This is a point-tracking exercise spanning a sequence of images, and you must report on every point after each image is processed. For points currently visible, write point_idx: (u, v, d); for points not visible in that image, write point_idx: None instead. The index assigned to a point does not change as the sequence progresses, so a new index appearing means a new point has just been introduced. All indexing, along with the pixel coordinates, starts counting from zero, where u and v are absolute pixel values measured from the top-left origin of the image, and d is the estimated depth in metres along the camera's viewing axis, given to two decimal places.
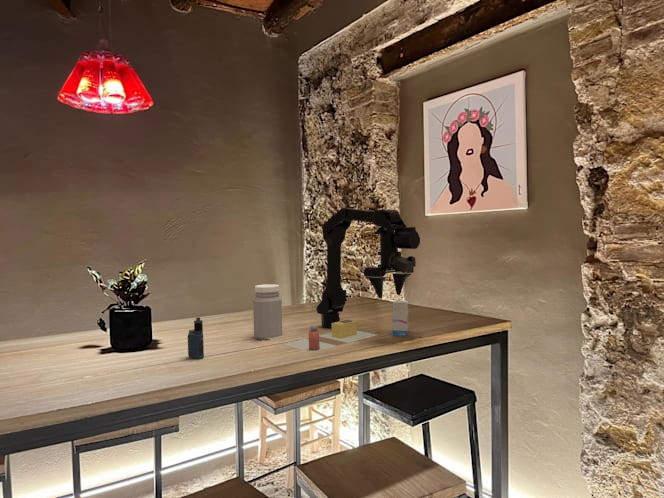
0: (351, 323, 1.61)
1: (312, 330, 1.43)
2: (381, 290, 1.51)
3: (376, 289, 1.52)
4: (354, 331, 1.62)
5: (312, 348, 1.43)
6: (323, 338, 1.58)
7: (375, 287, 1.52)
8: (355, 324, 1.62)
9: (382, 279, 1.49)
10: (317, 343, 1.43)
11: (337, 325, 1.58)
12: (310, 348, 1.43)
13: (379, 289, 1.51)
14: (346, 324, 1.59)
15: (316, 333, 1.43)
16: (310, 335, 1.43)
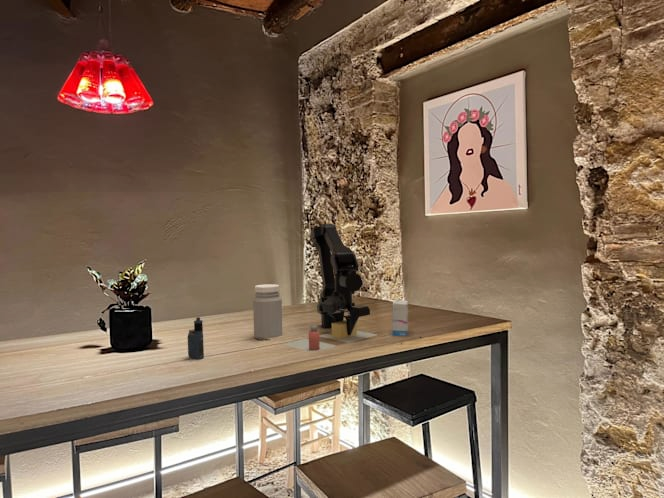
0: None
1: (312, 330, 1.43)
2: None
3: None
4: (354, 331, 1.62)
5: (312, 348, 1.43)
6: (323, 338, 1.58)
7: None
8: (355, 324, 1.62)
9: (330, 315, 1.62)
10: (317, 343, 1.43)
11: (337, 325, 1.58)
12: (310, 348, 1.43)
13: None
14: (346, 324, 1.59)
15: (316, 333, 1.43)
16: (310, 335, 1.43)
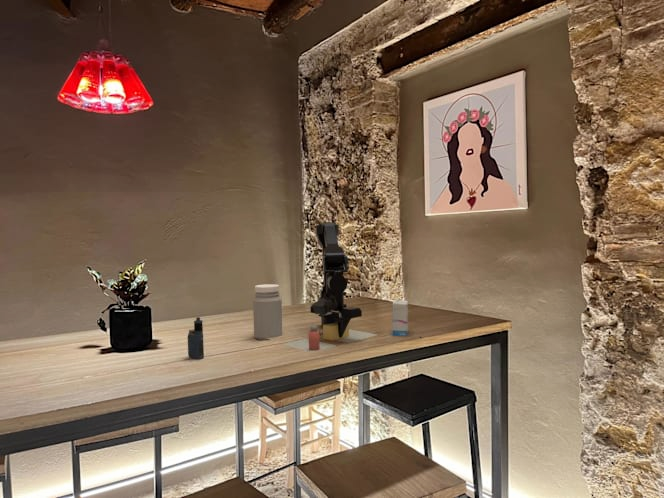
0: None
1: (312, 330, 1.43)
2: None
3: None
4: (346, 333, 1.59)
5: (312, 348, 1.43)
6: None
7: None
8: (347, 326, 1.60)
9: (321, 317, 1.59)
10: (317, 343, 1.43)
11: (328, 327, 1.55)
12: (310, 348, 1.43)
13: None
14: None
15: (316, 333, 1.43)
16: (310, 335, 1.43)
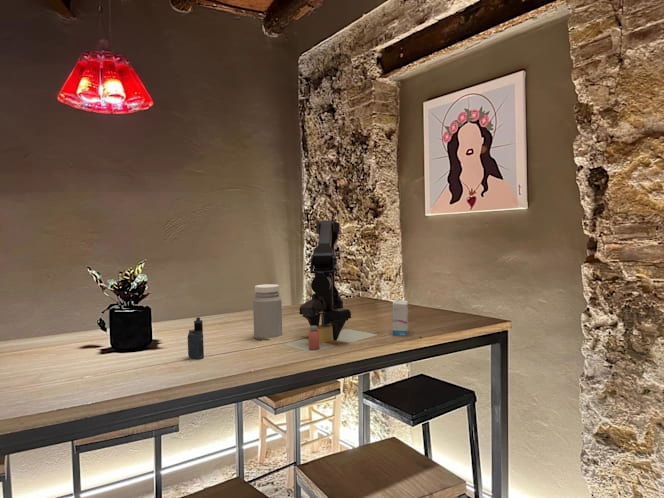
0: None
1: (312, 330, 1.43)
2: None
3: None
4: None
5: (312, 348, 1.43)
6: None
7: None
8: None
9: (305, 317, 1.58)
10: (317, 343, 1.43)
11: (317, 329, 1.52)
12: (310, 348, 1.43)
13: None
14: (327, 328, 1.53)
15: (316, 333, 1.43)
16: (310, 335, 1.43)
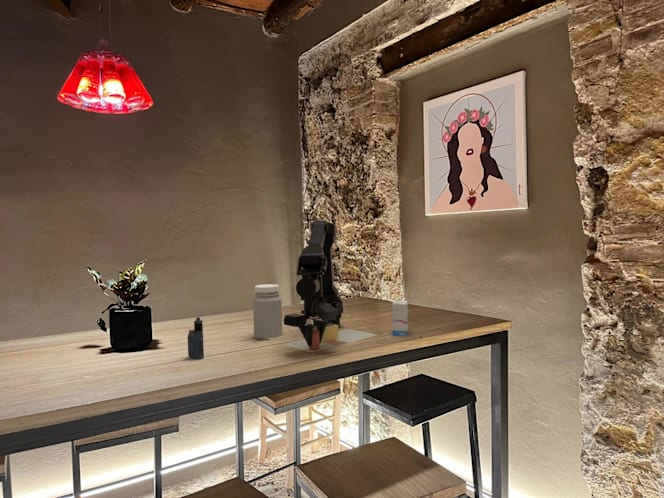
0: (332, 327, 1.55)
1: (312, 330, 1.43)
2: (310, 338, 1.42)
3: (305, 336, 1.43)
4: (335, 336, 1.56)
5: (312, 348, 1.43)
6: None
7: (304, 334, 1.43)
8: (337, 328, 1.56)
9: (310, 327, 1.40)
10: (317, 343, 1.43)
11: None
12: (310, 348, 1.43)
13: (308, 337, 1.42)
14: (327, 328, 1.53)
15: (316, 333, 1.43)
16: None
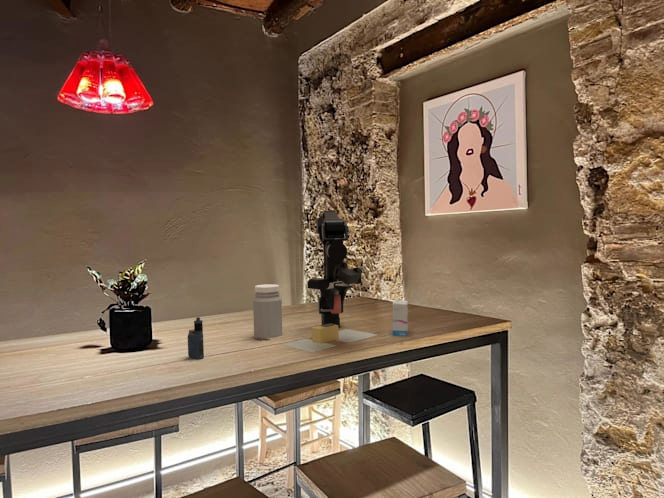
0: (332, 327, 1.55)
1: (334, 294, 1.50)
2: (332, 301, 1.48)
3: (327, 300, 1.49)
4: (335, 336, 1.56)
5: (334, 311, 1.49)
6: None
7: (326, 298, 1.49)
8: (337, 328, 1.56)
9: (332, 290, 1.46)
10: (339, 306, 1.50)
11: (317, 329, 1.52)
12: (332, 311, 1.50)
13: (330, 300, 1.48)
14: (327, 328, 1.53)
15: (338, 297, 1.49)
16: None
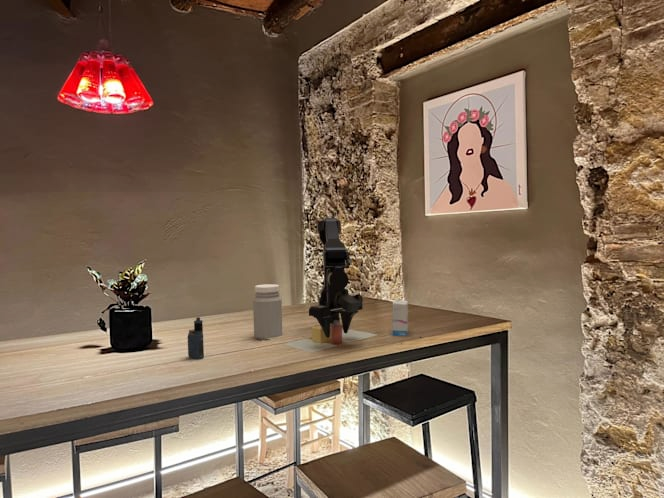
0: None
1: (335, 325, 1.50)
2: (328, 329, 1.47)
3: (323, 328, 1.48)
4: None
5: (335, 342, 1.50)
6: None
7: (322, 326, 1.48)
8: None
9: (328, 319, 1.45)
10: (340, 337, 1.50)
11: (317, 329, 1.52)
12: (333, 342, 1.50)
13: (326, 328, 1.47)
14: None
15: (339, 328, 1.50)
16: (333, 329, 1.50)
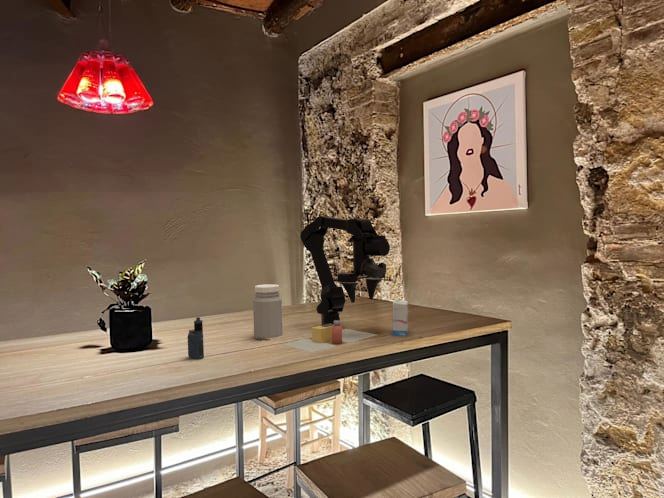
0: None
1: (335, 325, 1.50)
2: (354, 295, 1.60)
3: (349, 294, 1.61)
4: None
5: (335, 342, 1.50)
6: None
7: (348, 292, 1.61)
8: None
9: (354, 284, 1.58)
10: (340, 337, 1.50)
11: (317, 329, 1.52)
12: (333, 342, 1.50)
13: (352, 294, 1.60)
14: (327, 328, 1.53)
15: (339, 327, 1.50)
16: (333, 329, 1.50)
